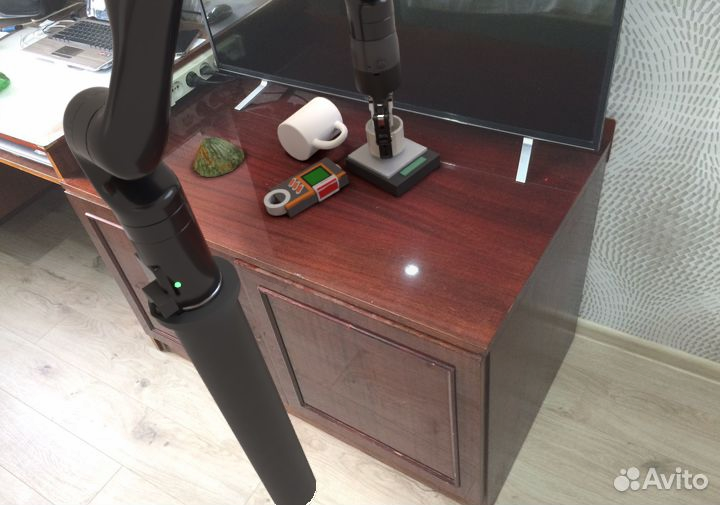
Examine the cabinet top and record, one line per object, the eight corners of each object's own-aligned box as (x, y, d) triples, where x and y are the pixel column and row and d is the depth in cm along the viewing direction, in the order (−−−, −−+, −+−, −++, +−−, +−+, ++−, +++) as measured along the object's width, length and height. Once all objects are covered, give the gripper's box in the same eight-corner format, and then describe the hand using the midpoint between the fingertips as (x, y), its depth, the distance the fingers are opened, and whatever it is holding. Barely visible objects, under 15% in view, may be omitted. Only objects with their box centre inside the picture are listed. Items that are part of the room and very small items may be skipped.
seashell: (197, 165, 108) (180, 141, 115) (203, 183, 111) (185, 158, 117) (248, 147, 111) (228, 124, 118) (252, 165, 114) (233, 142, 121)
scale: (397, 197, 101) (396, 183, 99) (346, 169, 108) (344, 155, 106) (440, 165, 106) (439, 151, 104) (388, 140, 113) (386, 126, 111)
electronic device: (256, 195, 103) (327, 154, 107) (261, 207, 105) (331, 167, 109) (275, 214, 98) (348, 171, 103) (279, 226, 101) (351, 184, 105)
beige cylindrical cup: (387, 164, 102) (384, 140, 98) (361, 151, 106) (357, 127, 102) (412, 146, 105) (410, 122, 101) (386, 133, 108) (383, 110, 105)
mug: (282, 154, 114) (272, 118, 109) (315, 127, 119) (307, 92, 114) (329, 172, 108) (322, 135, 103) (362, 143, 113) (356, 107, 108)
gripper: (353, 39, 98) (365, 124, 110) (350, 84, 88) (364, 172, 100) (398, 34, 97) (406, 120, 109) (401, 78, 87) (409, 168, 99)
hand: (386, 145), depth 105 cm, fingers closed on beige cylindrical cup, 6 cm apart
